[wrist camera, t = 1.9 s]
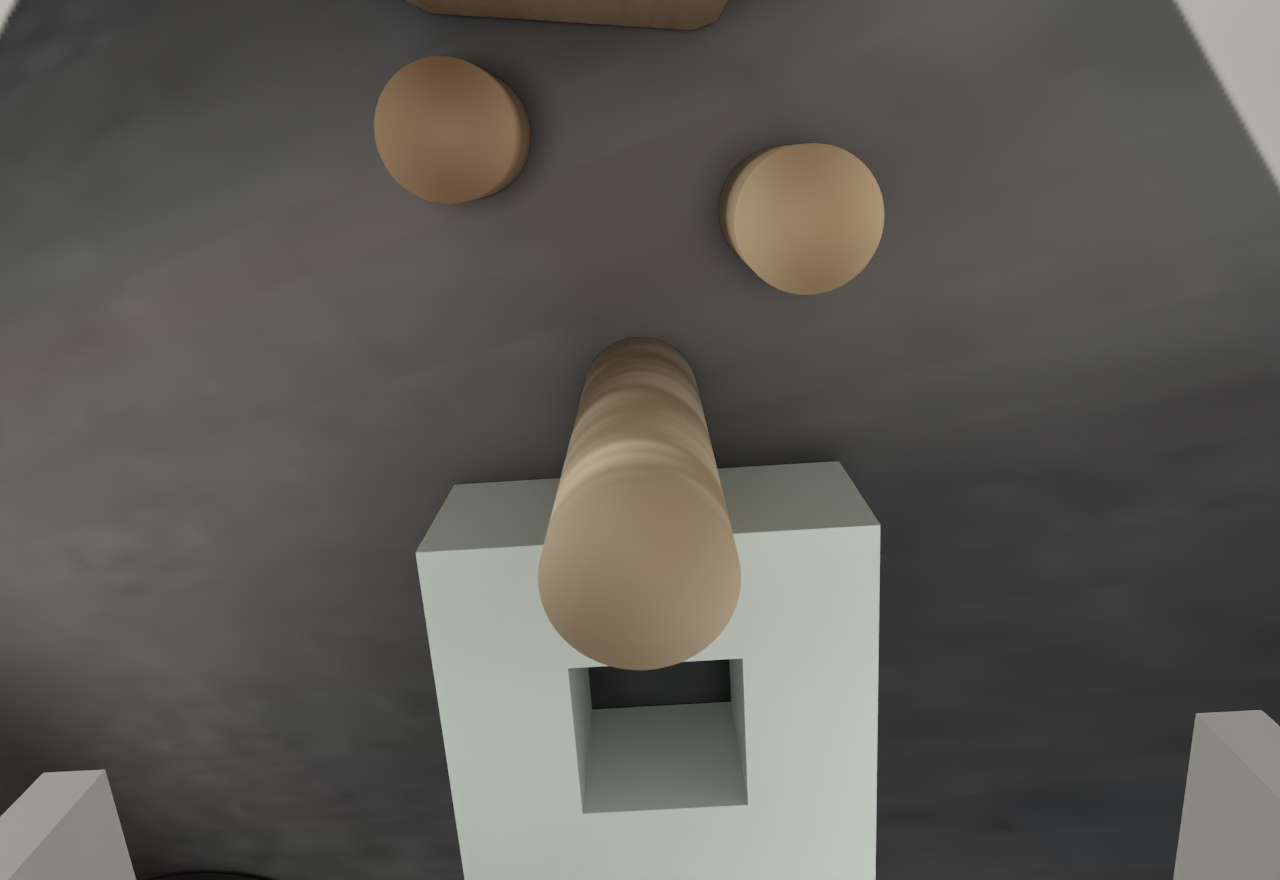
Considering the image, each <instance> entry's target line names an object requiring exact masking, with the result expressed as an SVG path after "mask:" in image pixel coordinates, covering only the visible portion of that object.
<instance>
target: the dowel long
mask: <svg viewBox="0 0 1280 880" xmlns="http://www.w3.org/2000/svg"><path fill="white" fill-rule="evenodd" d="M538 588H539V593H540V599H541V602H542V605H543V608H544V611H545V613H546V615H547V617H548V619H549V621H550V622H551V624H552V625H553V627H554V628H555V630H556V631H557V632H558V633H559V634H560V636H561V637H562V638H563V639H564V640H565V641H566V642H567V643H568V644H569V645H571V646H572V647H573V648H574V649H576V650H577V651H579V652H580V653H581V654H583V655H584V656H586V657H588V658H590V659H592V660H594V661H596V662H599V663H602V664H605V665H607V666H611V667H616V668H620V669H628V670H651V669H659V668H664V667H668V666H672V665H675V664H677V663H680V662H683V661H685V660H687V659H689V658H691V657H693V656H695V655H696V654H698V653H699V652H701V651H702V650H704V649H705V648H706V647H707V646H709V645H710V644H711V643H712V642H713V641H714V640H715V639H716V638H717V637H718V636H719V635H720V634H721V633H722V631H723V630H724V628H725V627H726V626H727V624H728V623H729V621H730V619H731V617H732V615H733V613H734V611H735V608H736V605H737V602H738V599H739V594H740V589H741V568H740V561H739V557H738V553H737V548H736V544H735V540H734V536H733V532H732V528H731V524H730V520H729V515H728V511H727V507H726V503H725V499H724V495H723V491H722V487H721V483H720V478H719V474H718V470H717V466H716V462H715V458H714V454H713V450H712V445H711V441H710V437H709V433H708V429H707V425H706V421H705V417H704V412H703V408H702V404H701V400H700V396H699V392H698V388H697V384H696V380H695V376H694V373H693V371H692V368H691V366H690V365H689V363H688V361H687V360H686V359H685V358H684V356H683V355H682V354H681V353H680V352H679V351H678V350H676V349H675V348H674V347H672V346H671V345H669V344H667V343H665V342H663V341H660V340H657V339H653V338H647V337H634V338H628V339H624V340H621V341H618V342H616V343H614V344H612V345H610V346H609V347H607V348H606V349H605V350H603V351H602V352H601V353H600V354H599V355H598V356H597V358H596V359H595V360H594V361H593V363H592V365H591V366H590V368H589V371H588V373H587V376H586V380H585V384H584V388H583V391H582V395H581V399H580V403H579V407H578V411H577V415H576V419H575V423H574V427H573V431H572V435H571V439H570V443H569V447H568V451H567V455H566V459H565V462H564V466H563V470H562V474H561V478H560V482H559V486H558V490H557V494H556V498H555V502H554V506H553V510H552V514H551V518H550V522H549V526H548V530H547V534H546V537H545V541H544V545H543V549H542V553H541V557H540V561H539V569H538Z"/></svg>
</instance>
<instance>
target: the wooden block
mask: <svg viewBox="0 0 1280 880" xmlns="http://www.w3.org/2000/svg"><path fill="white" fill-rule="evenodd" d="M406 1H407V2H409V3H411V4H413V5H415V6H417V7H419V8H421V9H423V10H425V11H427V12H429V13H432V14H448V15H463V16H479V17H494V18H510V19H525V20H541V21H557V22H572V23H588V24H603V25H619V26H634V27H650V28H666V29H681V30H695V29H697V28H700V27H703V26H705V25H708V24H711V23H713V22H716V21H717V20H718V18H719V16H720V14H721V12H722V10H723V9H724V7H725V5H726V3H727V1H728V0H406Z"/></svg>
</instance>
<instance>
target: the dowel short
mask: <svg viewBox="0 0 1280 880" xmlns="http://www.w3.org/2000/svg"><path fill="white" fill-rule="evenodd" d="M374 133H375V140H376V145H377V148H378V151H379V154H380V157H381V159H382V161H383V163H384V165H385V167H386V168H387V170H388V171H389V173H390V174H391V175H392V176H393V178H394V179H395V180H396V181H397V182H398V183H399V184H400V185H401V186H402V187H403V188H405V189H406V190H407V191H409V192H410V193H412V194H414V195H415V196H417V197H419V198H422V199H424V200H426V201H430V202H434V203H439V204H458V203H464V202H468V201H472V200H476V199H480V198H483V197H487V196H491V195H493V194H496V193H498V192H500V191H502V190H503V189H505V188H506V187H508V186H509V185H510V184H511V183H512V182H513V181H514V180H515V179H516V178H517V177H518V175H519V174H520V173H521V171H522V169H523V168H524V166H525V164H526V161H527V158H528V155H529V151H530V145H531V129H530V123H529V119H528V116H527V113H526V111H525V108H524V106H523V104H522V102H521V101H520V99H519V98H518V96H517V95H516V94H515V92H514V91H513V90H512V89H511V88H510V87H509V86H508V85H507V84H505V83H504V82H503V81H502V80H500V79H498V78H497V77H495V76H493V75H491V74H490V73H488V72H486V71H484V70H482V69H481V68H479V67H477V66H475V65H473V64H471V63H469V62H467V61H464V60H461V59H458V58H454V57H448V56H432V57H426V58H422V59H419V60H416V61H414V62H412V63H410V64H408V65H406V66H405V67H403V68H402V69H400V70H399V71H398V72H397V73H396V74H395V75H394V76H393V77H392V78H391V79H390V80H389V81H388V83H387V84H386V86H385V87H384V89H383V91H382V93H381V95H380V97H379V100H378V103H377V106H376V111H375V117H374Z"/></svg>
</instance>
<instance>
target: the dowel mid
mask: <svg viewBox="0 0 1280 880" xmlns="http://www.w3.org/2000/svg"><path fill="white" fill-rule="evenodd" d="M719 222H720V226H721V230H722V232H723V235H724V237H725V239H726V241H727V243H728V244H729V246H730V247H731V248H732V250H733V251H734V252H735V253H736V254H737V255H738V256H739V257H740V258H741V259H742V260H743V261H744V262H745V263H746V264H747V265H748V266H749V267H750V268H751V269H752V270H753V271H754V272H755V273H756V274H757V275H758V276H759V277H760V278H761V279H763V280H764V281H765V282H766V283H768V284H770V285H771V286H773V287H775V288H777V289H780V290H782V291H785V292H788V293H792V294H799V295H813V294H821V293H824V292H828V291H831V290H834V289H836V288H839V287H840V286H842V285H844V284H846V283H847V282H849V281H850V280H852V279H853V278H854V277H856V276H857V275H858V274H859V273H860V272H861V271H862V270H863V269H864V267H865V266H866V265H867V264H868V263H869V261H870V260H871V258H872V257H873V255H874V253H875V251H876V249H877V247H878V245H879V242H880V239H881V236H882V231H883V226H884V204H883V198H882V194H881V191H880V188H879V186H878V184H877V182H876V180H875V178H874V176H873V175H872V173H871V172H870V170H869V169H868V168H867V167H866V166H865V164H864V163H863V162H861V161H860V160H859V159H858V158H857V157H856V156H854V155H852V154H851V153H849V152H848V151H846V150H843V149H841V148H839V147H836V146H832V145H828V144H821V143H807V144H796V145H785V146H775V147H769V148H765V149H761V150H759V151H757V152H754V153H753V154H751V155H749V156H747V157H746V158H745V159H743V160H742V161H741V162H740V163H739V164H738V165H737V166H736V167H735V168H734V169H733V171H732V172H731V173H730V174H729V176H728V178H727V180H726V181H725V184H724V186H723V188H722V191H721V195H720V200H719Z"/></svg>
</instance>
